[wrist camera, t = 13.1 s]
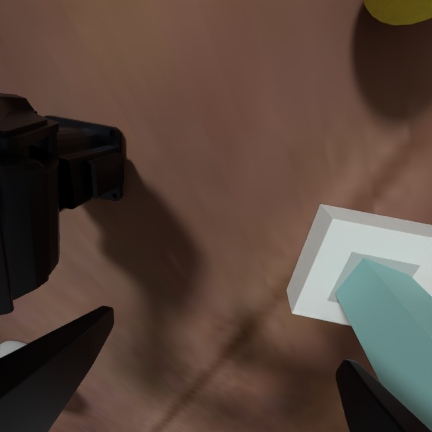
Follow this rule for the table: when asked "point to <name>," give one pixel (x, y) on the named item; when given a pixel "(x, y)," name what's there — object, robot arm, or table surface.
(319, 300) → the plinth
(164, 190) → the table surface
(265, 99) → the table surface
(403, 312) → the pillar
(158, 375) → the table surface
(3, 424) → the robot arm
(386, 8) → the lemon
